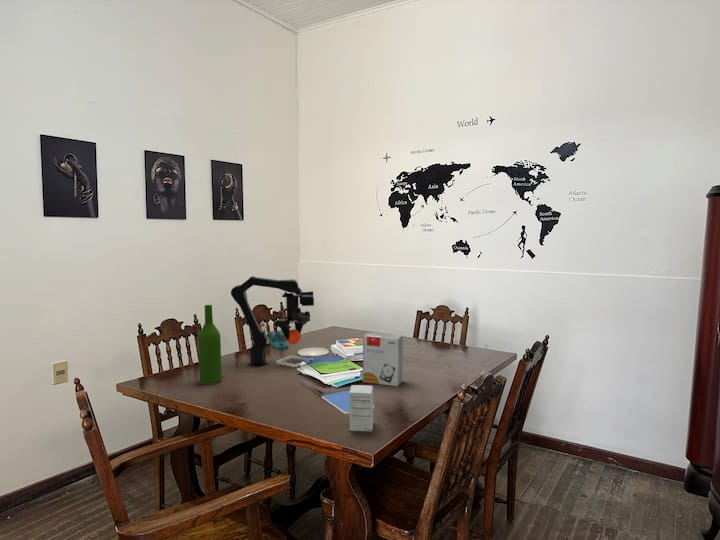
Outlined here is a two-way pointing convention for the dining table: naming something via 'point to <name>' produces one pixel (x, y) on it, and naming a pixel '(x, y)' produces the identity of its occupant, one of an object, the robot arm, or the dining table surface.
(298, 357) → the white flat square frame
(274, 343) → the bracket
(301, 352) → the cream plate
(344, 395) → the tablet computer
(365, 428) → the supplement box
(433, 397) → the dining table surface
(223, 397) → the dining table surface
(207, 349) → the wine bottle
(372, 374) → the hard drive box
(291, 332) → the clementine
